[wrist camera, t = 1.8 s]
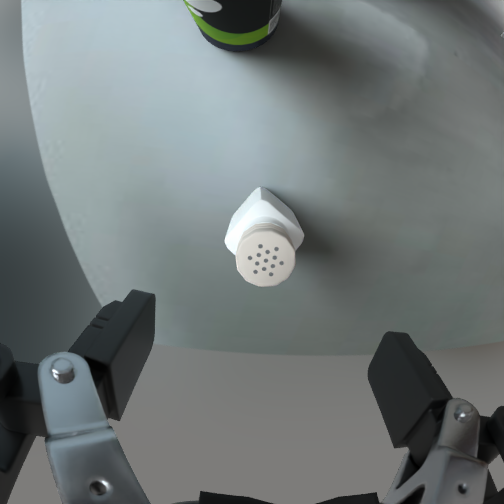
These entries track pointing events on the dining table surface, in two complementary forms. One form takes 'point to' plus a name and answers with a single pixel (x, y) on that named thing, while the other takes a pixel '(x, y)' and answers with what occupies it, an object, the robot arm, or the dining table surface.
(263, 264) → the salt shaker
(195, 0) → the beverage can
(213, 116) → the dining table surface
